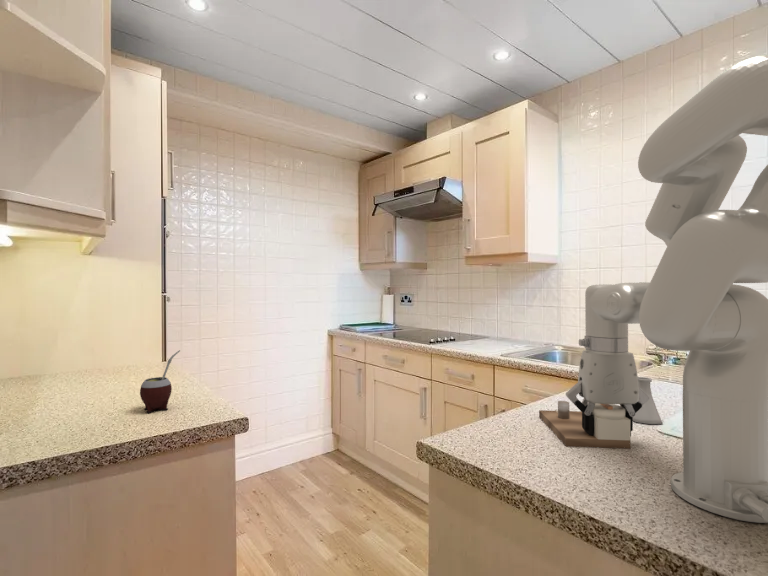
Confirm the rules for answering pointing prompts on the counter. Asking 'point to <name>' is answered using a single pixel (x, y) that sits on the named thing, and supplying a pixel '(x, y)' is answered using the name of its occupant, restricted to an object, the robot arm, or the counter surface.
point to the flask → (647, 405)
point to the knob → (610, 422)
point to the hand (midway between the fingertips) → (607, 433)
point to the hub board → (575, 429)
